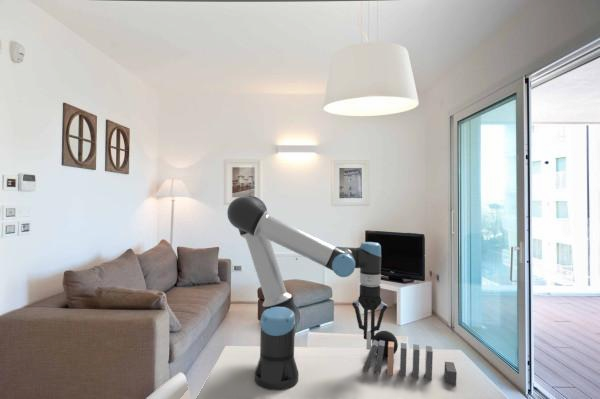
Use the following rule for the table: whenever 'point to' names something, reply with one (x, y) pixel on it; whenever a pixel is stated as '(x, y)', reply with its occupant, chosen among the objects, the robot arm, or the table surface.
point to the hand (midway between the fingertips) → (368, 348)
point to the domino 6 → (428, 363)
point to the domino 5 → (415, 361)
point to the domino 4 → (403, 359)
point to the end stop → (450, 373)
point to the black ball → (386, 341)
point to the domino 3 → (390, 358)
